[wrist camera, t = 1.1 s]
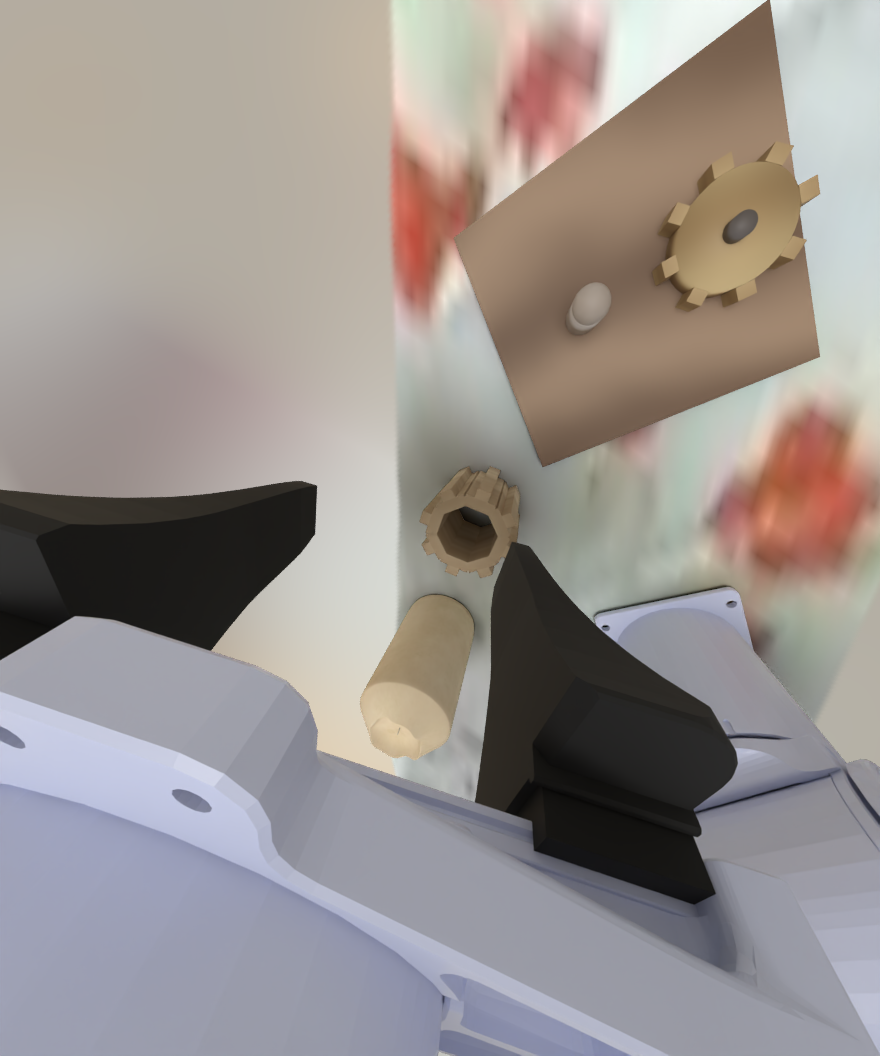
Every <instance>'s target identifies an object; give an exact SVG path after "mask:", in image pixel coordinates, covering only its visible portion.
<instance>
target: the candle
mask: <svg viewBox="0 0 880 1056" xmlns="http://www.w3.org/2000/svg"><path fill="white" fill-rule="evenodd" d="M473 636H474V622H473V619H472V617H471V615H470V613H469V611H468V610H467V609H466V608H465V607H464V606H463V605H462V604H461V603H459V602H458V601H456V600H454V599H452V598H450V597H447V596H443V595H428V596H424V597H422V598H420V599H418V600H417V601H416V602H415V603H414V604H413V605H412V606H411V608H410V609H409V611H408V613H407V614H406V616H405V618H404V620H403V622H402V623H401V625H400V627H399V629H398V631H397V632H396V634H395V636H394V638H393V639H392V642H391V643H390V645H389V647H388V648H387V650H386V652H385V654H384V656H383V658H382V659H381V661H380V663H379V665H378V666H377V668H376V670H375V672H374V674H373V676H372V677H371V679H370V681H369V682H368V684H367V686H366V688H365V690H364V692H363V694H362V696H361V699H360V707H361V712H362V715H363V718H364V721H365V724H366V727H367V729H368V732H369V736H370V740H371V743H372V745H373V746H374V747H376V748H377V749H379V750H381V751H382V752H384V753H385V754H387V755H388V756H390V757H393V758H399V757H403V756H407V757H410V758H411V759H413V760H417V759H418V758H420V757H421V756H423V755H425V754H427V753H429V752H431V751H433V750H435V749H437V748H439V747H440V746H442V745H443V744H444V743H445V742H446V741H447V740H448V738H449V735H450V732H451V728H452V724H453V720H454V715H455V711H456V707H457V703H458V699H459V695H460V691H461V686H462V682H463V678H464V674H465V670H466V666H467V662H468V657H469V653H470V649H471V645H472V640H473Z"/></svg>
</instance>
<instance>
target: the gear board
mask: <svg viewBox="0 0 880 1056" xmlns="http://www.w3.org/2000/svg"><path fill="white" fill-rule="evenodd" d="M793 147H794V146H793V145H790V140H789V133H788V126H787V119H786V112H785V104H784V97H783V90H782V83H781V76H780V69H779V62H778V55H777V47H776V40H775V33H774V26H773V19H772V12H771V5H770V0H767V1H766V2H765V3H763V4H762V5H761V6H759V7H758V8H757V9H755V10H754V11H753V12H751V13H750V14H749V15H747V16H746V17H745V18H743V19H742V20H741V21H739V22H738V23H737V24H735V25H734V26H733V27H732V28H730V29H729V30H728V31H726V32H725V33H724V34H722V35H721V36H720V37H718V38H717V39H716V40H714V41H713V42H712V43H710V44H709V45H708V46H706V47H705V48H704V49H702V50H701V51H700V52H699V53H697V54H696V55H695V56H693V57H692V58H691V59H689V60H688V61H687V62H685V63H684V64H683V65H681V66H680V67H679V68H677V69H676V70H675V71H673V72H672V73H671V74H669V75H668V76H667V77H666V78H664V79H663V80H662V81H660V82H659V83H658V84H656V85H655V86H654V87H652V88H651V89H650V90H648V91H647V92H646V93H644V94H643V95H642V96H640V97H639V98H638V99H636V100H635V101H634V102H633V103H631V104H630V105H629V106H627V107H626V108H625V109H623V110H622V111H621V112H619V113H618V114H617V115H615V116H614V117H613V118H611V119H610V120H609V121H607V122H606V123H605V124H603V125H602V126H601V127H599V128H598V129H597V130H596V131H594V132H593V133H592V134H590V135H589V136H588V137H586V138H585V139H584V140H582V141H581V142H580V143H578V144H577V145H576V146H574V147H573V148H572V149H570V150H569V151H568V152H566V153H565V154H564V155H563V156H561V157H560V158H559V159H557V160H556V161H555V162H553V163H552V164H551V165H549V166H548V167H547V168H545V169H544V170H543V171H541V172H540V173H539V174H537V175H536V176H535V177H533V178H532V179H531V180H530V181H528V182H527V183H526V184H524V185H523V186H522V187H520V188H519V189H518V190H516V191H515V192H514V193H512V194H511V195H510V196H508V197H507V198H506V199H504V200H503V201H502V202H500V203H499V204H498V205H497V206H495V207H494V208H493V209H491V210H490V211H489V212H487V213H486V214H485V215H483V216H482V217H481V218H479V219H478V220H477V221H475V222H474V223H473V224H471V225H470V226H469V227H467V228H466V229H465V230H464V231H462V232H461V233H460V234H458V235H457V236H456V237H454V240H455V243H456V246H457V248H458V251H459V253H460V256H461V258H462V261H463V264H464V266H465V269H466V271H467V274H468V276H469V279H470V282H471V284H472V287H473V289H474V292H475V294H476V297H477V299H478V302H479V305H480V307H481V310H482V312H483V315H484V317H485V320H486V323H487V325H488V328H489V330H490V333H491V335H492V338H493V341H494V343H495V346H496V348H497V351H498V353H499V356H500V359H501V361H502V364H503V366H504V369H505V371H506V374H507V377H508V379H509V382H510V384H511V387H512V389H513V392H514V395H515V397H516V400H517V402H518V405H519V407H520V410H521V413H522V415H523V418H524V420H525V423H526V425H527V428H528V431H529V433H530V436H531V438H532V441H533V443H534V446H535V449H536V451H537V454H538V456H539V459H540V461H541V464H542V467H545V466H547V465H550V464H552V463H555V462H557V461H560V460H562V459H565V458H567V457H570V456H572V455H575V454H577V453H580V452H582V451H585V450H587V449H590V448H592V447H595V446H597V445H600V444H602V443H605V442H607V441H610V440H612V439H615V438H617V437H620V436H622V435H625V434H627V433H630V432H632V431H635V430H637V429H640V428H642V427H645V426H648V425H650V424H653V423H655V422H658V421H660V420H663V419H665V418H668V417H670V416H673V415H675V414H678V413H680V412H683V411H685V410H688V409H690V408H693V407H695V406H698V405H700V404H703V403H705V402H708V401H710V400H713V399H715V398H718V397H720V396H723V395H725V394H728V393H730V392H733V391H735V390H738V389H740V388H743V387H745V386H748V385H750V384H753V383H755V382H758V381H761V380H763V379H766V378H768V377H771V376H773V375H776V374H778V373H781V372H783V371H786V370H788V369H791V368H793V367H796V366H798V365H801V364H803V363H806V362H808V361H811V360H813V359H816V358H818V357H820V354H819V346H818V339H817V332H816V325H815V318H814V311H813V304H812V297H811V289H810V282H809V275H808V268H807V261H806V254H805V247H804V244H805V242H806V239H803V233H802V225H801V218H800V207H801V206H803V205H804V204H806V203H807V202H809V201H810V200H812V199H813V198H815V197H816V196H818V195H819V194H820V190H819V182H818V175H816V176H814V177H812V178H810V179H809V180H807V181H805V182H803V183H802V184H800V185H798V184H797V182H796V180H795V176H794V168H793V161H792V154H791V150H792V148H793Z"/></svg>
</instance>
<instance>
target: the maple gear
mask: <svg viewBox="0 0 880 1056" xmlns="http://www.w3.org/2000/svg"><path fill="white" fill-rule="evenodd" d="M500 471H501V470H499V469H496V468H494V467H491V466H490V467H489V469H488V471H487V473H485V472H482V471H480V473H479V471H477V472H475V473H472V472H471V470H470V468H469V467H466V468H464V469H462V470H460V471H458V473H457V474H456V475H455V476H454V477H453V478H452V479H451V481H450V482H449V483H448V484H447V485H445V487H444V488H443V489H442V490H441V491H440V492H439V493H438V494H437V496H436V497H435V498H434V499H433V500H432V501H431V502H430V503H429V505H428V506H427V507H426V508H425V509H424V510H423V512H422V515H421V518H420V521H419V522H420V523H423V524H425V525H428V527H427V530H426V533H427V534H426V536H427V538H426V539H425V541H424V542H423V543H422V546H423V548H424V550H425V552H426V554H427V555H430V554H433V553H435V554H436V556H437V558H438V560H439V559H441V562H443V563H446V564H448V565H447V567H446V570H445V572H447V573H450V574H452V575H454V576H457V574H458V572H459V569H460V570H462V571H464V572H467V571H469V573H470V572H474V571H477V572H478V574H479V576H480V578H483V577H486V576H490V575H492V574H493V569H494V565H496V564H497V563H499V561H500V559H501V557H504V558H506V555H507V553H508V550H509V548H510V545H511V543H512V542H516V543H517V536H518V527H519V518H520V515H519V514H518V509H519V501H520V493H519V491H518V488H517V486H516V485H515V486H512V487H510V488H508V486H507V483H506V482H504V480H503V479H500V478H498V476H499V473H500ZM464 506H466V507H469V508H471V509H474V510H476V511H479V512H481V513H484V514H486V515H488V516H489V518H490V520H491V523H492V524H489V525H486V526H483V527H479V526H477V525H474V524H472V523H470V522H467V521H465V520H464V519H463V517H462V515H461V513H460V511H459V508H461V507H464Z"/></svg>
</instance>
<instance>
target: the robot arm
mask: <svg viewBox="0 0 880 1056" xmlns="http://www.w3.org/2000/svg"><path fill="white" fill-rule="evenodd" d="M316 498H317V486H316V485H313V484H309V483H306V482H302V481H293V482H284V483H277V484H271V485H266V486H260V487H253V488H247V489H241V490H234V491H227V492H219V493H212V494H203V495H193V496H179V497H155V498H154V497H151V498H106V497H82V496H65V495H51V494H40V493H30V492H19V491H7V490H0V1056H438V1051H439V1052H442V1053H445V1054H448V1055H451V1056H880V767H879V766H877V765H876V764H875V763H873V762H871V761H869V760H866V759H860V760H856V761H853V762H849V763H846V762H845V761H844V759H843V758H842V757H841V756H840V755H839V753H838V752H837V751H836V750H835V749H834V748H833V746H832V745H831V744H830V742H829V741H828V740H827V739H826V738H825V737H824V735H823V734H822V733H821V732H820V730H819V729H818V728H817V727H816V726H815V724H814V723H813V722H812V721H811V720H810V718H809V717H808V716H807V715H806V713H805V712H804V711H803V710H802V709H801V707H800V706H799V705H798V704H797V703H796V701H795V700H794V699H793V698H792V697H791V695H790V694H789V693H788V692H787V691H786V689H785V688H784V687H783V686H782V685H781V683H780V682H779V681H778V680H777V678H776V677H775V676H774V675H773V674H772V672H771V671H770V670H769V669H768V668H767V666H766V665H765V664H764V663H763V662H762V660H761V659H760V658H759V657H758V656H757V654H756V653H755V652H754V650H753V646H752V642H751V638H750V634H749V630H748V626H747V622H746V618H745V614H744V610H743V606H742V602H741V598H740V595H739V593H738V592H737V591H736V590H735V589H734V588H731V587H724V588H719V589H714V590H710V591H705V592H700V593H695V594H690V595H685V596H681V597H676V598H671V599H666V600H661V601H656V602H652V603H647V604H642V605H637V606H632V607H627V608H623V609H618V610H613V611H608V612H603V613H599V614H597V615H596V616H595V623H596V625H595V624H594V623H593V622H592V621H591V620H590V619H589V618H588V617H587V616H586V615H585V614H584V613H583V612H582V611H581V610H580V609H579V608H578V607H577V606H576V605H575V604H574V603H573V602H572V601H571V600H570V598H569V597H568V596H567V595H566V594H565V593H564V591H563V590H562V589H561V588H560V587H559V585H558V584H557V583H556V582H555V580H554V579H553V578H552V576H551V575H550V574H549V572H548V571H547V570H546V568H545V567H544V566H543V564H542V563H541V561H540V560H539V559H538V557H537V556H536V555H535V553H534V552H533V550H532V549H531V548H530V547H529V546H526V545H523V544H519V543H516V542H512V543H511V545H510V548H509V550H508V553H507V555H506V558H505V561H504V563H503V566H502V568H501V571H500V573H499V576H498V579H497V581H496V584H495V586H494V592H493V599H492V607H491V680H490V689H489V699H488V708H487V717H486V725H485V733H484V742H483V749H482V756H481V764H480V771H479V779H478V785H477V792H476V799H475V802H472V801H469V800H466V799H463V798H460V797H457V796H454V795H451V794H448V793H445V792H442V791H439V790H436V789H433V788H430V787H427V786H424V785H421V784H418V783H415V782H412V781H409V780H406V779H403V778H400V777H397V776H394V775H390V774H388V773H384V772H382V771H378V770H376V769H373V768H370V767H366V766H364V765H361V764H358V763H355V762H351V761H349V760H346V759H343V758H339V757H336V756H334V755H330V754H327V753H324V752H321V751H318V750H316V747H317V732H318V730H317V727H316V724H315V721H314V718H313V715H312V712H311V709H310V706H309V704H308V702H307V700H306V699H304V697H303V696H302V695H300V694H299V693H298V692H297V691H296V690H295V689H294V688H293V687H292V686H291V685H290V684H289V683H288V682H287V681H286V680H284V679H282V678H280V677H278V676H276V675H274V674H272V673H270V672H268V671H266V670H264V669H262V668H260V667H258V666H256V665H253V664H250V663H246V662H243V661H240V660H237V659H234V658H231V657H227V656H225V655H221V654H218V653H215V652H212V651H211V650H212V649H213V647H214V646H215V645H216V643H217V642H218V641H219V640H220V638H221V637H222V636H223V635H224V633H225V632H226V631H227V629H228V628H229V627H230V626H231V624H232V623H233V622H234V621H235V620H236V619H237V617H238V616H239V615H240V614H241V612H242V611H243V610H244V609H245V608H246V607H247V605H248V604H249V603H250V602H251V601H252V600H253V599H254V598H255V597H256V596H257V595H258V594H259V593H260V592H261V591H262V590H263V589H264V588H265V587H266V586H267V585H268V584H269V583H270V582H271V581H272V580H274V578H275V577H277V576H278V575H279V574H280V573H281V572H282V571H283V570H284V569H285V568H286V567H287V566H288V565H289V564H290V563H291V562H292V561H293V560H294V559H295V558H296V557H297V556H298V555H299V554H300V553H301V552H302V551H303V549H304V548H305V547H306V546H307V544H308V543H309V541H310V540H311V538H312V537H313V536H314V535H315V523H316ZM729 601H733V602H732V603H730V604H726V603H727V602H729ZM603 625H608V627H602V626H603Z"/></svg>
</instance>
